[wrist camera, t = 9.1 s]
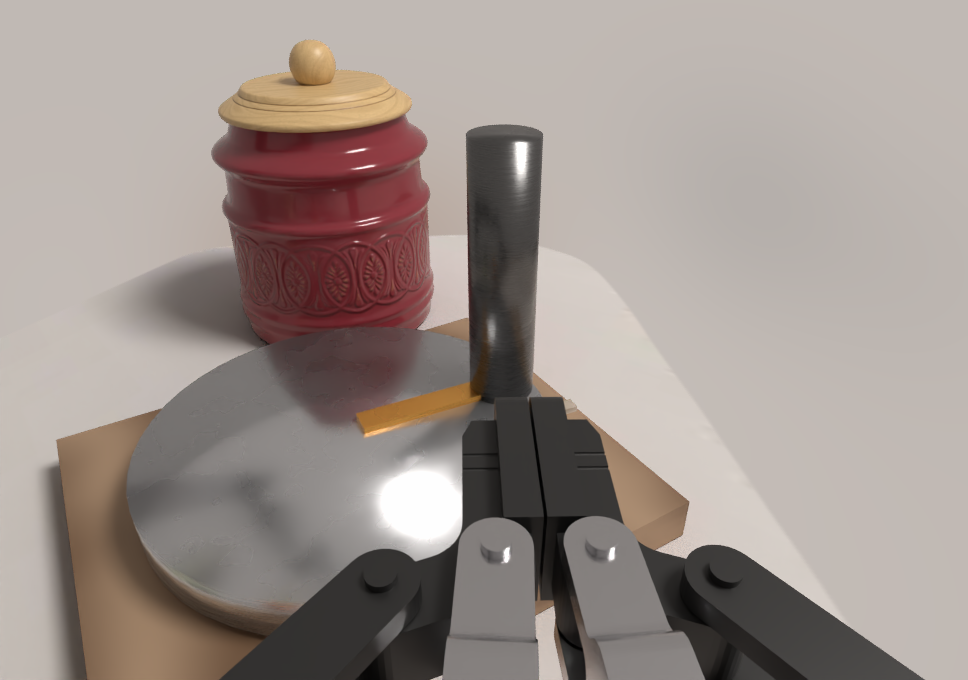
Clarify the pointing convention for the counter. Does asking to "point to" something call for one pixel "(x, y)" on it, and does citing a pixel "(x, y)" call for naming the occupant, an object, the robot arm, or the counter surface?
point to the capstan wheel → (342, 427)
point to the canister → (325, 200)
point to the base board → (182, 630)
